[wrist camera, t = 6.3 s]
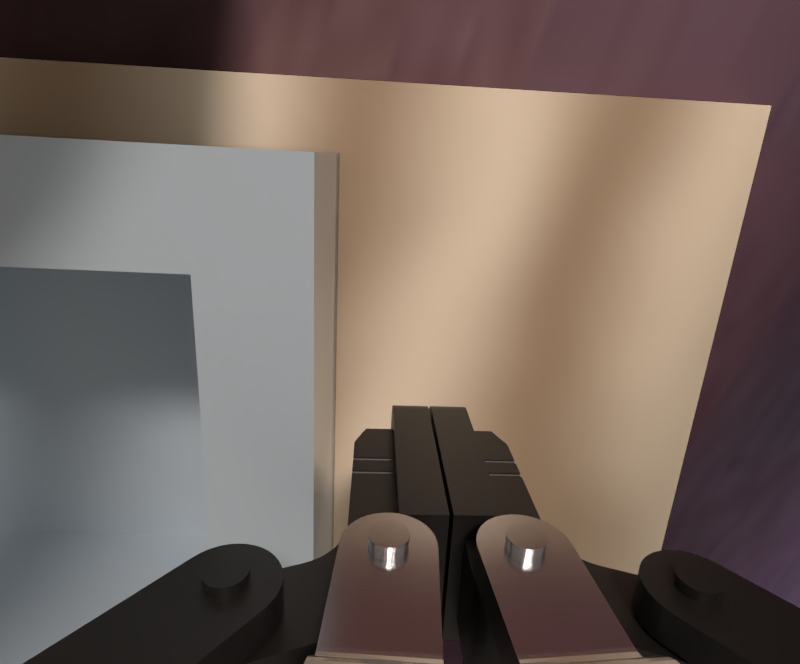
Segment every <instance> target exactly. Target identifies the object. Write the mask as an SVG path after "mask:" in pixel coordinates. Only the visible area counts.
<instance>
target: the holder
mask: <svg viewBox="0 0 800 664" xmlns="http://www.w3.org/2000/svg"><path fill="white" fill-rule="evenodd" d="M339 169H340V153H327V152H309V151H291V150H273V149H254V148H236V147H218V146H200V145H182V144H163V143H145V142H127V141H109V140H91V139H73V138H54V137H36V136H18V135H0V664H23V663H24V662H26V661H27V660H29V659H31V658H32V657H34V656H35V655H37V654H39V653H40V652H42V651H43V650H45V649H47V648H48V647H50V646H51V645H53V644H55V643H56V642H58V641H59V640H61V639H63V638H64V637H66V636H67V635H69V634H71V633H72V632H74V631H75V630H77V629H79V628H80V627H82V626H83V625H85V624H87V623H88V622H90V621H91V620H93V619H95V618H96V617H98V616H99V615H101V614H103V613H104V612H106V611H107V610H109V609H111V608H112V607H114V606H115V605H117V604H119V603H120V602H122V601H123V600H125V599H127V598H128V597H130V596H131V595H133V594H135V593H136V592H138V591H139V590H141V589H143V588H144V587H146V586H147V585H149V584H151V583H152V582H154V581H155V580H157V579H159V578H160V577H162V576H163V575H165V574H167V573H168V572H170V571H171V570H173V569H175V568H176V567H178V566H179V565H181V564H183V563H184V562H186V561H187V560H189V559H191V558H192V557H194V556H196V555H198V554H199V553H201V552H203V551H206V550H208V549H211V548H214V547H218V546H222V545H227V544H238V543H239V544H250V545H256V546H259V547H262V548H264V549H266V550H268V551H270V552H271V553H272V554H273V555H275V556H276V558H277V559H278V560H279V562H280V564H281V566H282V568H285V567H289V566H293V565H297V564H302V563H305V562H309V561H312V560H314V559H317V558H319V557H321V556H323V555H325V554H327V553H328V552H330V551H331V550H332V549H333V537H334V476H335V415H336V353H337V292H338V231H339Z"/></svg>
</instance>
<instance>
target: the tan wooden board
mask: <svg viewBox="0 0 800 664" xmlns="http://www.w3.org/2000/svg"><path fill="white" fill-rule="evenodd" d="M770 110H771V106H769V105H753V104H737V103H721V102H705V101H689V100H673V99H657V98H641V97H626V96H610V95H594V94H578V93H562V92H546V91H530V90H514V89H498V88H482V87H466V86H450V85H434V84H418V83H402V82H386V81H370V80H354V79H338V78H322V77H306V76H290V75H274V74H258V73H242V72H226V71H210V70H194V69H178V68H162V67H147V66H131V65H115V64H99V63H83V62H67V61H51V60H35V59H19V58H3V57H0V135H18V136H36V137H54V138H73V139H91V140H109V141H127V142H145V143H163V144H182V145H200V146H218V147H236V148H254V149H273V150H291V151H309V152H327V153H340V169H339V231H338V292H337V353H336V415H335V476H334V537H333V549H334V548H335V547H336V546H337V545H338V544H339V540H340V537H341V535H342V533H343V531H344V530H345V529H346V528H347V526H348V515H349V503H350V490H351V478H352V466H353V454H354V442H355V440H356V439H357V438H358V437H359V436H360V435H361V434H362V433H363V431H364V430H365V429H391V416H392V405H402V406H428V409H429V407H430V406H446V407H465V408H466V409H467V412H468V415H469V418H470V421H471V424H472V427H473V429H474V431H492V432H493V433H494V434H495V435H496V436H498V437H499V438H500V439H501V440H502V441H504V442H505V443H506V444H507V445H508V447H509V449H510V452H511V454H512V456H513V458H514V463H516V465H517V467H518V470H519V472H520V477H522V478H523V481H524V483H525V485H526V487H527V490H528V492H529V494H530V496H531V499H532V501H533V503H534V505H535V508H536V510H537V512H538V514H539V516H540V519H541V520H542V521H545V522H547V523H549V524H551V525H552V526H554V527H556V528H557V529H558V530H560V531H561V532H562V533H563V534H564V535H565V536H566V537H567V538H568V539H569V540H570V542H571V543H572V545H573V546H574V548H575V550H576V551H577V553H578V555H579V556H580V558H581V559H582V560H585V561H587V562H590V563H593V564H596V565H600V566H603V567H607V568H612V569H616V570H620V571H624V572H628V573H632V574H636V575H638V571H639V566H640V564H641V561H642V560H643V559H644V557H646V556H647V555H649V554H650V553H653V552H656V551H661V548H662V544H663V540H664V536H665V532H666V528H667V524H668V520H669V516H670V512H671V508H672V504H673V500H674V496H675V492H676V488H677V484H678V480H679V476H680V472H681V468H682V464H683V460H684V456H685V452H686V448H687V444H688V440H689V436H690V432H691V427H692V423H693V419H694V415H695V411H696V407H697V403H698V399H699V395H700V391H701V387H702V383H703V379H704V375H705V371H706V367H707V363H708V359H709V355H710V351H711V347H712V343H713V339H714V335H715V331H716V327H717V323H718V319H719V315H720V311H721V307H722V303H723V299H724V295H725V291H726V287H727V283H728V279H729V275H730V271H731V267H732V263H733V259H734V254H735V250H736V246H737V242H738V238H739V234H740V230H741V226H742V222H743V218H744V214H745V210H746V206H747V202H748V198H749V194H750V190H751V186H752V182H753V178H754V174H755V170H756V166H757V162H758V158H759V154H760V150H761V146H762V142H763V138H764V134H765V130H766V126H767V122H768V118H769V114H770Z"/></svg>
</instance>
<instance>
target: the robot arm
mask: <svg viewBox="0 0 800 664" xmlns="http://www.w3.org/2000/svg"><path fill="white" fill-rule="evenodd" d="M442 641H460V643H461V649H462V655H463V662H462V664H800V608H798V607H796V606H795V605H793V604H791V603H789V602H787V601H785V600H783V599H782V598H780V597H778V596H776V595H774V594H772V593H770V592H769V591H767V590H765V589H763V588H761V587H759V586H757V585H756V584H754V583H752V582H750V581H748V580H746V579H744V578H743V577H741V576H739V575H737V574H735V573H733V572H731V571H730V570H728V569H726V568H724V567H722V566H720V565H718V564H716V563H714V562H712V561H710V560H708V559H706V558H703V557H701V556H698V555H695V554H691V553H688V552H682V551H675V550H662V551H656V552H653V553H650V554H649V555H647V556H646V557H644V559H643V560H642V561H641V564H640V566H639V571H638V575H636V574H632V573H628V572H624V571H620V570H616V569H612V568H607V567H603V566H600V565H596V564H593V563H590V562H587V561H585V560H582V559H581V558H580V556H579V555H578V553H577V551H576V550H575V548H574V546H573V545H572V543H571V542H570V540H569V539H568V538H567V537H566V536H565V535H564V534H563V533H562V532H561V531H560V530H558V529H557V528H556V527H554V526H552V525H551V524H549V523H547V522H545V521H542V520H541V519H540V516H539V514H538V512H537V510H536V508H535V505H534V503H533V501H532V499H531V496H530V494H529V492H528V490H527V487H526V485H525V483H524V481H523V478H522V477H520V472H519V470H518V467H517V465H516V463H514V458H513V456H512V454H511V452H510V449H509V447H508V445H507V444H506V443H505V442H504V441H502V440H501V439H500V438H499V437H498V436H496V435H495V434H494V433H493V432H492V431H474V429H473V427H472V424H471V421H470V418H469V415H468V412H467V409H466V408H465V407H446V406H430V407H429V409H428V406H402V405H392V416H391V429H365V430H364V431H363V433H362V434H361V435H360V436H359V437H358V438H357V439H356V440H355V442H354V454H353V466H352V478H351V490H350V503H349V515H348V526H347V528H346V529H345V530H344V531H343V533H342V535H341V537H340V540H339V544H338V545H337V546H336V547H335V548H334V549H332V550H331V551H330V552H328V553H327V554H325V555H323V556H321V557H319V558H317V559H314V560H312V561H309V562H305V563H302V564H297V565H293V566H289V567H285V568H282V566H281V564H280V562H279V560H278V559H277V558H276V556H275V555H273V554H272V553H271V552H270V551H268V550H266V549H264V548H262V547H259V546H256V545H250V544H239V543H238V544H227V545H222V546H218V547H214V548H211V549H208V550H206V551H203V552H201V553H199V554H198V555H196V556H194V557H192V558H191V559H189V560H187V561H186V562H184V563H183V564H181V565H179V566H178V567H176V568H175V569H173V570H171V571H170V572H168V573H167V574H165V575H163V576H162V577H160V578H159V579H157V580H155V581H154V582H152V583H151V584H149V585H147V586H146V587H144V588H143V589H141V590H139V591H138V592H136V593H135V594H133V595H131V596H130V597H128V598H127V599H125V600H123V601H122V602H120V603H119V604H117V605H115V606H114V607H112V608H111V609H109V610H107V611H106V612H104V613H103V614H101V615H99V616H98V617H96V618H95V619H93V620H91V621H90V622H88V623H87V624H85V625H83V626H82V627H80V628H79V629H77V630H75V631H74V632H72V633H71V634H69V635H67V636H66V637H64V638H63V639H61V640H59V641H58V642H56V643H55V644H53V645H51V646H50V647H48V648H47V649H45V650H43V651H42V652H40V653H39V654H37V655H35V656H34V657H32V658H31V659H29V660H27V661H26V662H24V663H23V664H444V662H443V643H442Z"/></svg>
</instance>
